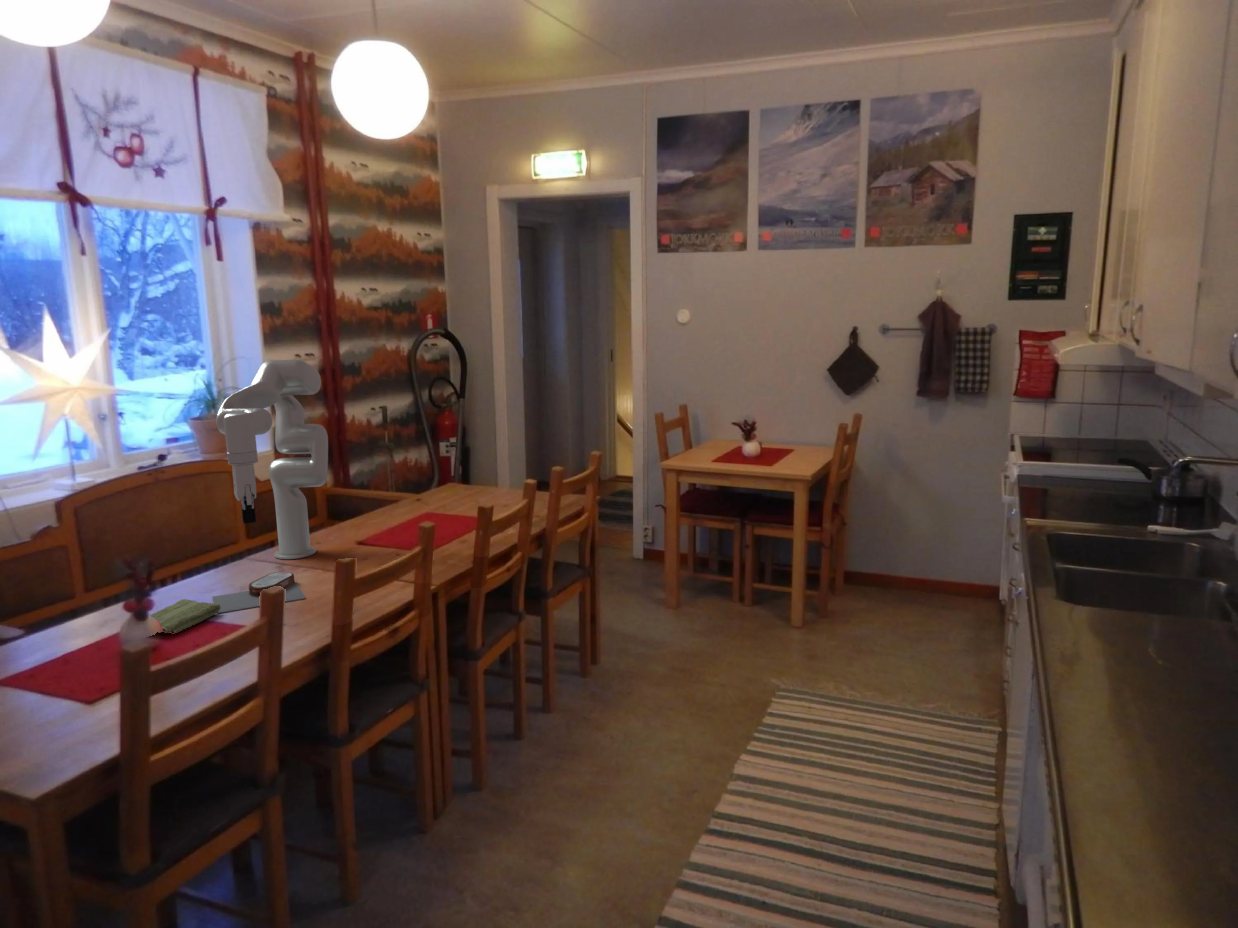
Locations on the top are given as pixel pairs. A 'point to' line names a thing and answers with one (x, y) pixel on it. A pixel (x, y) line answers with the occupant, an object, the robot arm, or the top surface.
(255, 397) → the robot arm
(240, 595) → the mat
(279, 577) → the tin
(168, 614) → the washcloth
